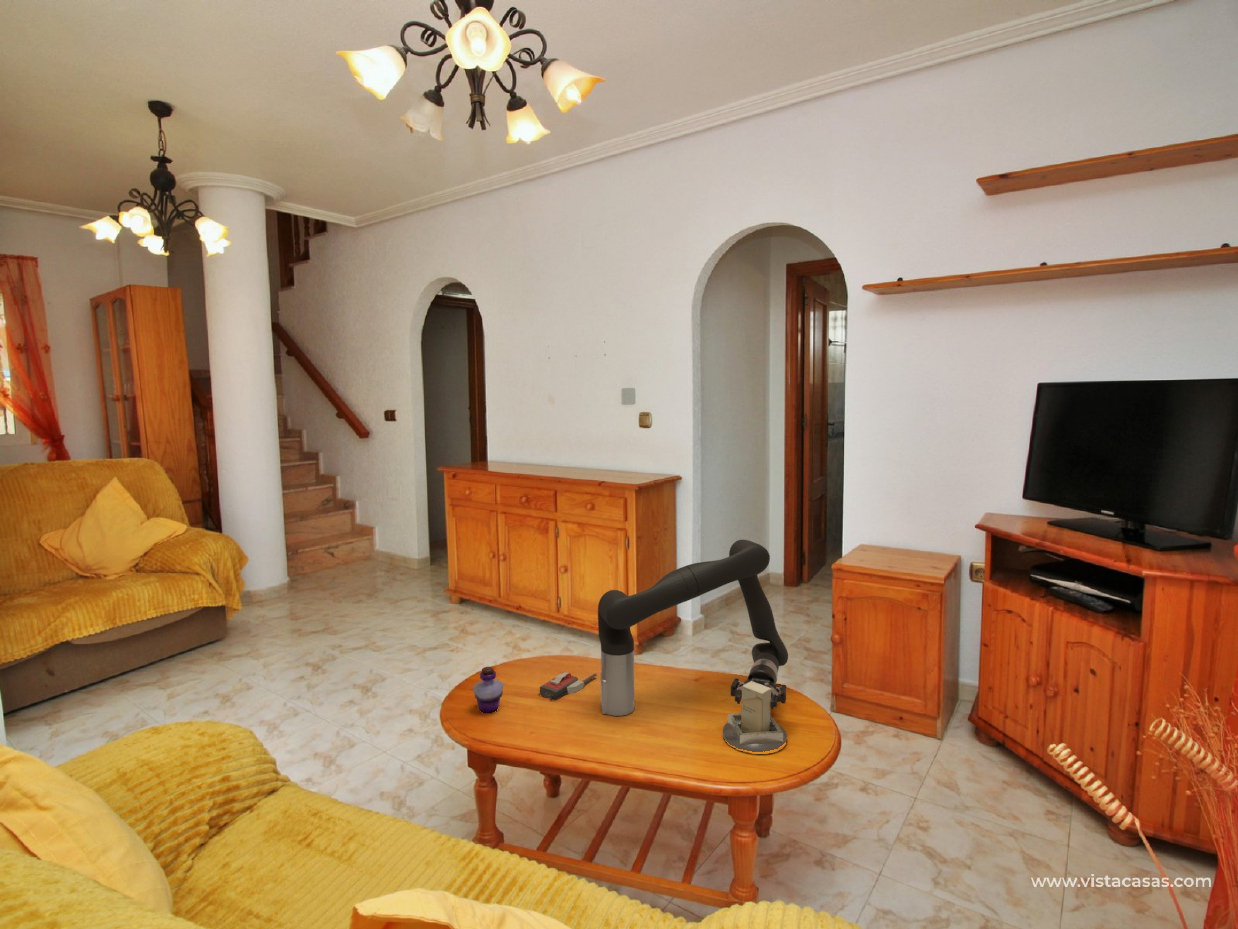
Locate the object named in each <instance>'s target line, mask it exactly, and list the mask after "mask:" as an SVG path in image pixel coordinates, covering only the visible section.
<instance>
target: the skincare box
mask: <svg viewBox="0 0 1238 929" xmlns="http://www.w3.org/2000/svg"><path fill="white" fill-rule="evenodd" d="M740 713H741V731H743V732H745V733H753V732H769V730H770V714H771V688H769V687H766V686H764V685H761V684H758V683H755V682H753V681H750V682H748V683H747V684H745V685H743V688H742V699H741V712H740Z"/></svg>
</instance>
